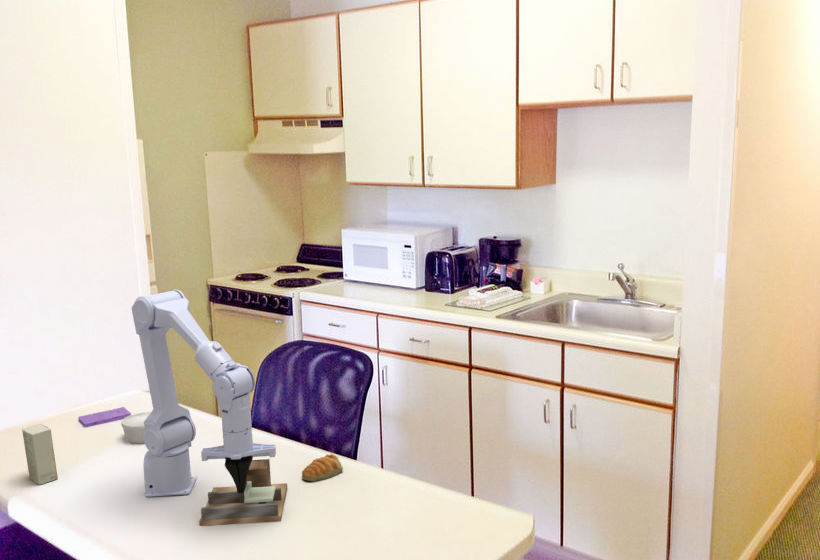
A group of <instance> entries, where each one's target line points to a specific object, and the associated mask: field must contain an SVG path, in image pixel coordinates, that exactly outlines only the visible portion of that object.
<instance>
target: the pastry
mask: <svg viewBox="0 0 820 560" xmlns="http://www.w3.org/2000/svg"><path fill="white" fill-rule="evenodd" d="M343 470H344V469H343V466H342V462H341V461H340V459H339V456H336V455H335V454H332V453H331V454H328V453H327V454H326V455H325V456H322V457H321V456H320V457H318V458H315V459H314V460H312V462H311V463H310V464H309V463H308V465H307V466H306V467H304V469H302V471H301V479H302V480H304V481H308V482H316V481H322V480H327V479H329V478H332V477H334V476H337V475H339V474H340V473H342V471H343Z"/></svg>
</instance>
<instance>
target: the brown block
mask: <svg viewBox="0 0 820 560" xmlns="http://www.w3.org/2000/svg"><path fill="white" fill-rule="evenodd" d="M270 460H271V459H270V458H267V459H252V462H251V465H250V467H249V470H248V474H247V478H246V484H247V481H251V483H252V488H253V487H270V486H271V484H272V481H271V480H272V479H271V477H272V476H271V465H270V463H271V461H270Z"/></svg>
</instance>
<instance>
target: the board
mask: <svg viewBox="0 0 820 560" xmlns="http://www.w3.org/2000/svg"><path fill="white" fill-rule="evenodd" d="M271 486H275V487H276V489H275V494H274V498H273V501H270V502H253V503H244V500H245V498H244V493H238V492H237V488H236V485H235V486H234V485H233V486H217V487H215V486H214V487H213V488H212V490H211V491H208V492H207V502H206V504H205V506H204V507H203V506H202V507H200V511H201V512H200V513H201V515H200V518H199V520H198V523H199V526H201V527H202V526H203V527H205V526H219V525H222V526H223V525H233V524H235V525H236V524H238V525H239V524H250V523H251V524H253V523H254V524H255V523H268V522H269V523H270V522H281V521H282V517H283V511H284V506H285V502H286V501H285V500H286V497H287V492H288V483H286V482H285V483H271Z"/></svg>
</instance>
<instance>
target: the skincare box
mask: <svg viewBox="0 0 820 560" xmlns="http://www.w3.org/2000/svg"><path fill="white" fill-rule="evenodd" d="M21 431H22V439H23V444H24V445H23V446H24V451H25V457H26V463H27V464H26V465H27V473H28V478H29V479H30V480H32V482H34V483H35V484H36V485H39V486H41V485H44V484H46V483H49V482H53V481H55V480H57V479H58V477H59V476H58V472H57V462H56V457H55V456H56V455H55V449H54V442H53V436H52V435H53V434H52V428H50V427H48V426H47V425H45V424H42V423H39V424H35V425H32V426H28V427H25V428H22V429H21Z"/></svg>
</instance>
